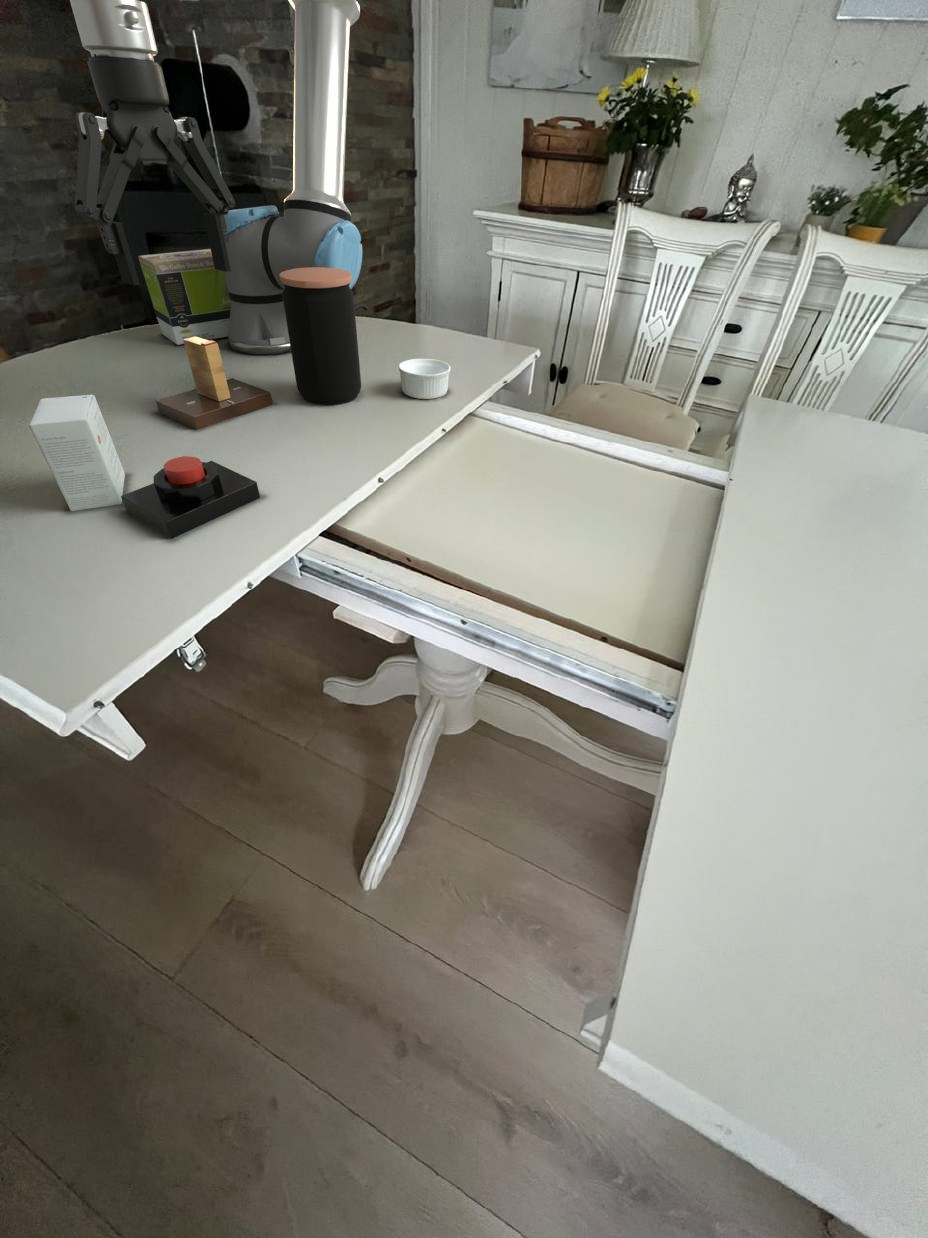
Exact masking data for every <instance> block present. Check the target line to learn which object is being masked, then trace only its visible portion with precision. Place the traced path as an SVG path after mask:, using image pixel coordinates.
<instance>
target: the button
mask: <svg viewBox="0 0 928 1238" xmlns="http://www.w3.org/2000/svg"><path fill="white" fill-rule="evenodd" d="M202 462H203V461H202V460H201V459H200V458H199V457H196V456H190V455H189V456H188V455H187V456H185V455H183V456H178V457H174V458H172V459H171V458H170V459H169V460H168V461H166V462H165V463H163V464H164V465H163V468H164V470H165V473H166V476H167V479H168V481H169V482H170V483H171V484H180V485H182V484H189V483H194V482H196V481H198V480H201V479H203V478H204V477H205V473H204V469H203V466H202Z"/></svg>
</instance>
